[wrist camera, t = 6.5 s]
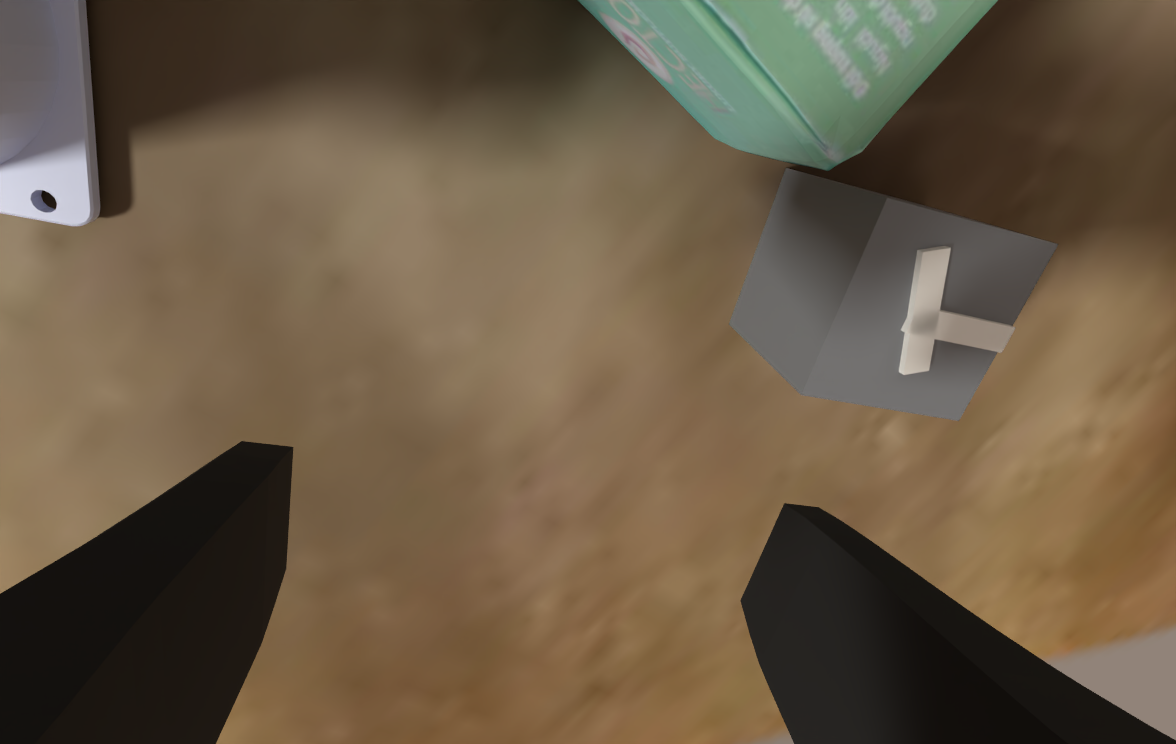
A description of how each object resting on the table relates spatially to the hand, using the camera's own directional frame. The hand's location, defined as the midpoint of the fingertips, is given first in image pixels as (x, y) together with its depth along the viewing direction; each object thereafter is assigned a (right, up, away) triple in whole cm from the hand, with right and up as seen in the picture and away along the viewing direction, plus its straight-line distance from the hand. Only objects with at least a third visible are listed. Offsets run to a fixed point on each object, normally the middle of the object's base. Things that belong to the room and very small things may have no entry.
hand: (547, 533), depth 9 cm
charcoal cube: (+8, +6, +11) cm, 15 cm away
